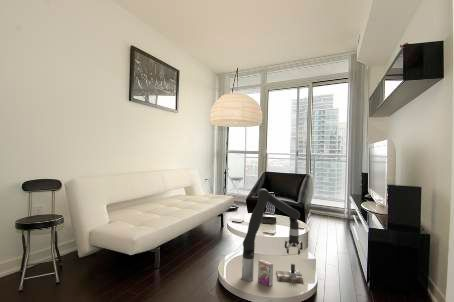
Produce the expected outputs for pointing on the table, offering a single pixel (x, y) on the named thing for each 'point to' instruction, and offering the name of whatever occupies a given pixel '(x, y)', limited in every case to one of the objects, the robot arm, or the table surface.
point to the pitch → (286, 277)
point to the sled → (292, 271)
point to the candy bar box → (265, 273)
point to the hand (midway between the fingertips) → (293, 254)
